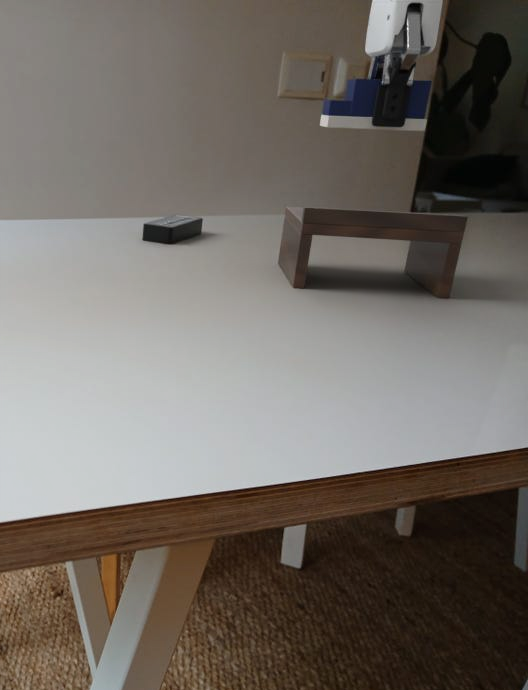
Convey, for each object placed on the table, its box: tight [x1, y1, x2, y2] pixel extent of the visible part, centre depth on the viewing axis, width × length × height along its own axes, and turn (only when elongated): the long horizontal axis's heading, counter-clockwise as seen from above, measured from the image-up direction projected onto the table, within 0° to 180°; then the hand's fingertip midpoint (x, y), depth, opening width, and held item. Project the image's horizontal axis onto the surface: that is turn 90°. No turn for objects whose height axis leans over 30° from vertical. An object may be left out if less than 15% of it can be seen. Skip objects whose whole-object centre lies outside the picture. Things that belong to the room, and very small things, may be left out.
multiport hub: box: [141, 214, 204, 245], centre depth 105 cm, size 4×11×2 cm, turn 146°
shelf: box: [277, 206, 469, 299], centre depth 83 cm, size 16×12×9 cm
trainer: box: [319, 78, 433, 132], centre depth 80 cm, size 10×4×5 cm, turn 81°
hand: (381, 123), depth 81 cm, fingers closed on trainer, 4 cm apart
